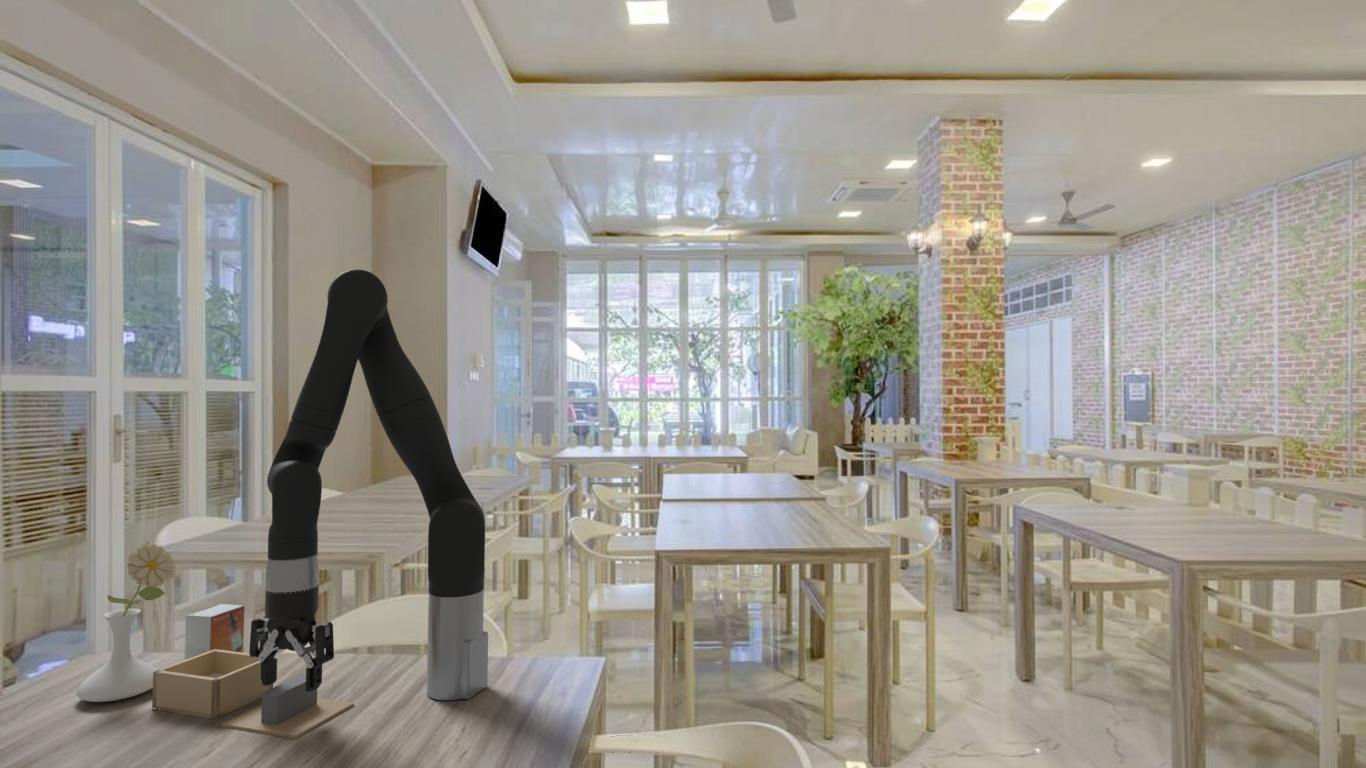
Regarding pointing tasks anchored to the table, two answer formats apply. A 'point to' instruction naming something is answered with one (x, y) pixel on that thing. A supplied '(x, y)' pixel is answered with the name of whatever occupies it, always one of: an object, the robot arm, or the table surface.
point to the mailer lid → (288, 711)
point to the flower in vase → (129, 632)
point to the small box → (214, 630)
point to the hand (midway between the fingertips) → (290, 686)
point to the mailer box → (208, 684)
